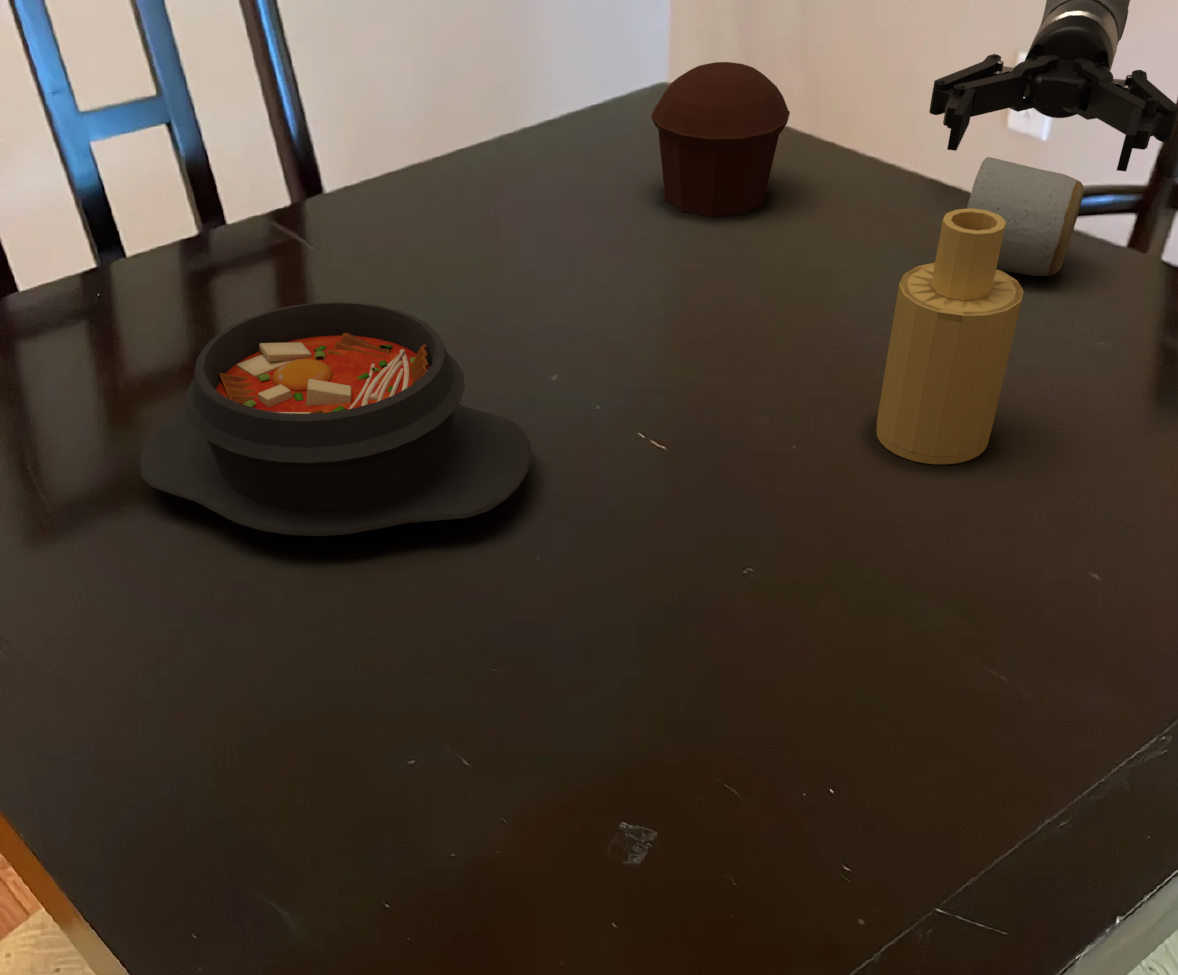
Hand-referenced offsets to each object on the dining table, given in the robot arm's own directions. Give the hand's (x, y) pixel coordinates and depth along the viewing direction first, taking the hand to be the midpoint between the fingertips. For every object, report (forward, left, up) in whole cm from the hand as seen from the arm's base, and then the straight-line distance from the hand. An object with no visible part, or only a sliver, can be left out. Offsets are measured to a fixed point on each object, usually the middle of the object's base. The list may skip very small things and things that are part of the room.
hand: (1039, 143), depth 108 cm
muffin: (+26, +3, -6) cm, 27 cm away
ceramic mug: (0, +8, -6) cm, 10 cm away
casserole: (+36, +55, -6) cm, 66 cm away
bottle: (+1, +37, -6) cm, 37 cm away
